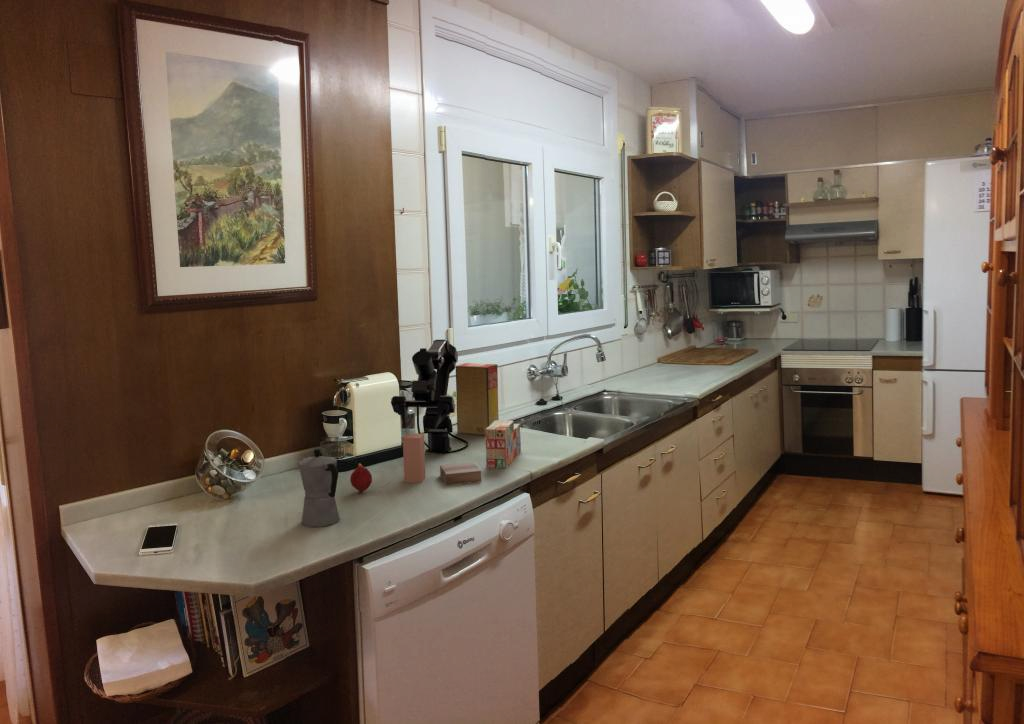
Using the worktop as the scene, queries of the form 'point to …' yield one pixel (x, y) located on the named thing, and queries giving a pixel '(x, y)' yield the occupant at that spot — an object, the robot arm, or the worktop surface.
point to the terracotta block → (414, 458)
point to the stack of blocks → (502, 443)
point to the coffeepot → (319, 490)
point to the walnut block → (460, 473)
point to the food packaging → (476, 397)
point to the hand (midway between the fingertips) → (419, 428)
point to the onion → (361, 478)
